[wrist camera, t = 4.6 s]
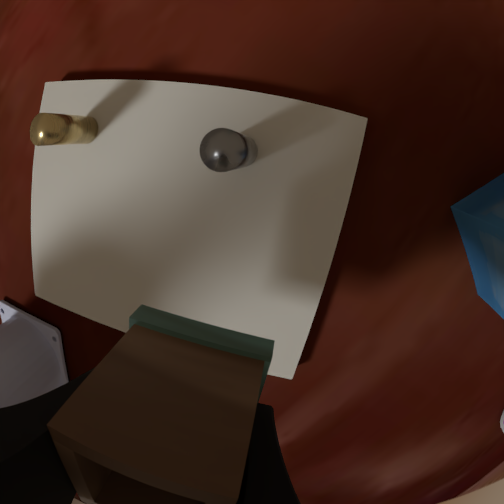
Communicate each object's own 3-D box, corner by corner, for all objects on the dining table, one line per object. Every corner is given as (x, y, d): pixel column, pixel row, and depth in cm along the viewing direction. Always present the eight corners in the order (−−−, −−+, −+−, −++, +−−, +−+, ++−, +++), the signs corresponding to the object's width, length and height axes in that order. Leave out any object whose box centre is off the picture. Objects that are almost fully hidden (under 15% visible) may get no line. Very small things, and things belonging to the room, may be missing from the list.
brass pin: (96, 145, 15) (48, 146, 12) (75, 142, 15) (28, 145, 12) (100, 117, 15) (53, 112, 11) (79, 115, 15) (32, 112, 11)
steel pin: (253, 170, 15) (238, 176, 11) (221, 164, 15) (196, 167, 11) (260, 138, 14) (247, 132, 10) (227, 132, 14) (204, 124, 11)
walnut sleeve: (247, 428, 12) (219, 551, 6) (140, 396, 12) (77, 500, 7) (274, 340, 10) (249, 497, 5) (141, 304, 11) (37, 415, 5)
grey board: (292, 367, 19) (291, 379, 18) (44, 289, 20) (35, 295, 19) (362, 120, 14) (367, 118, 13) (57, 84, 16) (45, 82, 15)
